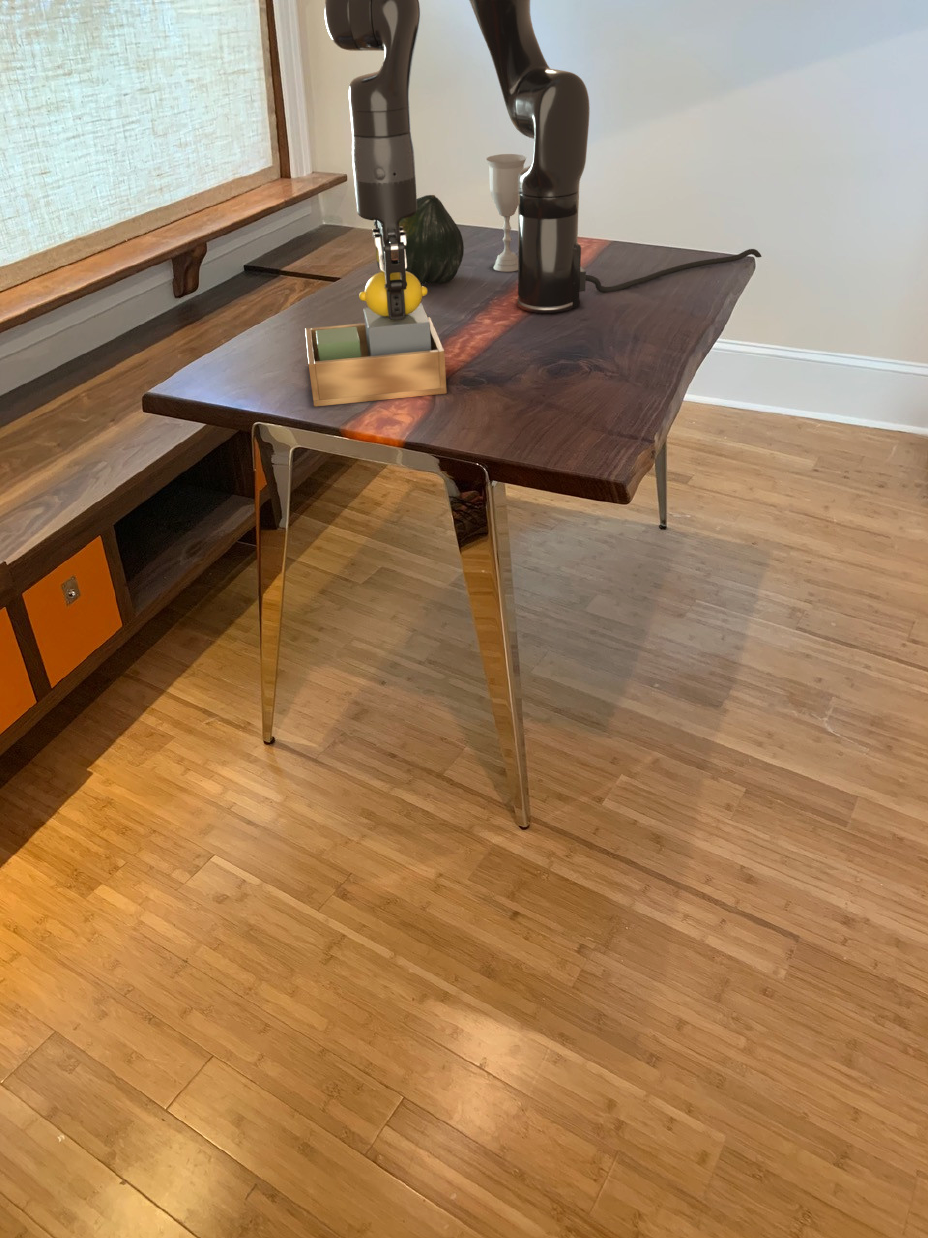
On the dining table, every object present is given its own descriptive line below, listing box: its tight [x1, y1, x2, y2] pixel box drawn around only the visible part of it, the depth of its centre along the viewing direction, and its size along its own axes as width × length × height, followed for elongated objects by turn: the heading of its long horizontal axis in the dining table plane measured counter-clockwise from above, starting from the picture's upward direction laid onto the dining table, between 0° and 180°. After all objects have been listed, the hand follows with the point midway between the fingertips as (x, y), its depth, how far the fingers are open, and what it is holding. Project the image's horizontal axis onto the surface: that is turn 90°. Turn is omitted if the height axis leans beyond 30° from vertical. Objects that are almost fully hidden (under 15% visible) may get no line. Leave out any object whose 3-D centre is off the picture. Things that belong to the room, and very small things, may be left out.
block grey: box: [363, 302, 431, 356], centre depth 128 cm, size 8×8×8 cm
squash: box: [376, 194, 465, 286], centre depth 162 cm, size 14×15×15 cm
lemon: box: [358, 271, 428, 317], centre depth 124 cm, size 9×6×6 cm, turn 99°
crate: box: [304, 316, 447, 408], centre depth 129 cm, size 18×14×6 cm
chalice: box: [486, 153, 527, 273], centre depth 166 cm, size 7×7×18 cm
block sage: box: [316, 327, 361, 361], centre depth 128 cm, size 6×6×6 cm
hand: (394, 310), depth 126 cm, fingers closed on lemon, 5 cm apart
